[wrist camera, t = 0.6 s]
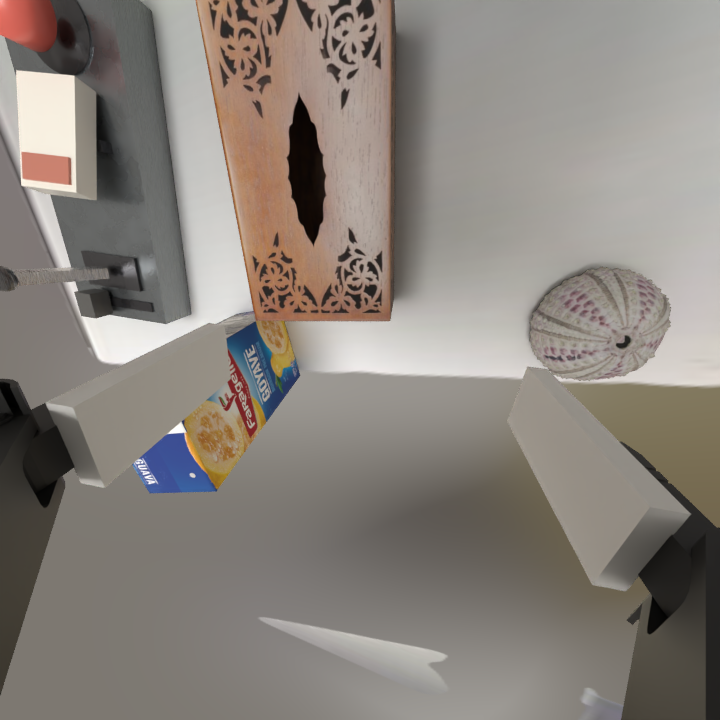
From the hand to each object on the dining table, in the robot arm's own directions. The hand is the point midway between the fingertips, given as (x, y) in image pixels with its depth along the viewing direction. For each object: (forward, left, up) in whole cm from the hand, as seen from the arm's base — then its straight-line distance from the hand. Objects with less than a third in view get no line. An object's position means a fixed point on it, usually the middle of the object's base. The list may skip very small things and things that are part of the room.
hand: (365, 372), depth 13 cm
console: (-7, -34, -27) cm, 44 cm away
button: (-19, -34, -20) cm, 44 cm away
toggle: (+3, -34, -21) cm, 40 cm away
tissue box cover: (-9, -8, -27) cm, 30 cm away
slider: (+7, -36, -21) cm, 43 cm away
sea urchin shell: (+2, +24, -27) cm, 36 cm away
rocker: (-10, -34, -19) cm, 41 cm away
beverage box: (+12, -16, -27) cm, 34 cm away
